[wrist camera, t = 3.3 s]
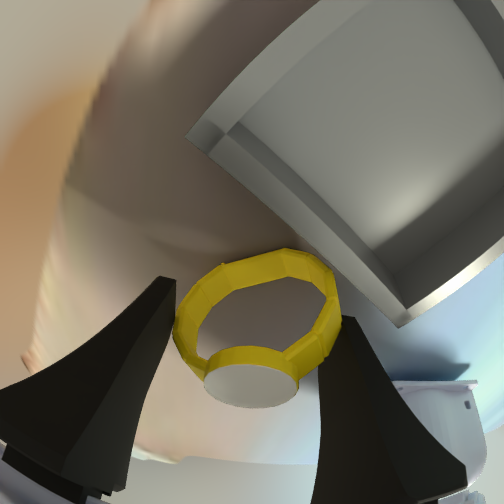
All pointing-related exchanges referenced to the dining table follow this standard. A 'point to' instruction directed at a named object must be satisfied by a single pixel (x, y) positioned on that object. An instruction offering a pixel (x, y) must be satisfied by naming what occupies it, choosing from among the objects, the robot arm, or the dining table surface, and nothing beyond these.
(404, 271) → the box
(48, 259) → the dining table surface
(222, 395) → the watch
